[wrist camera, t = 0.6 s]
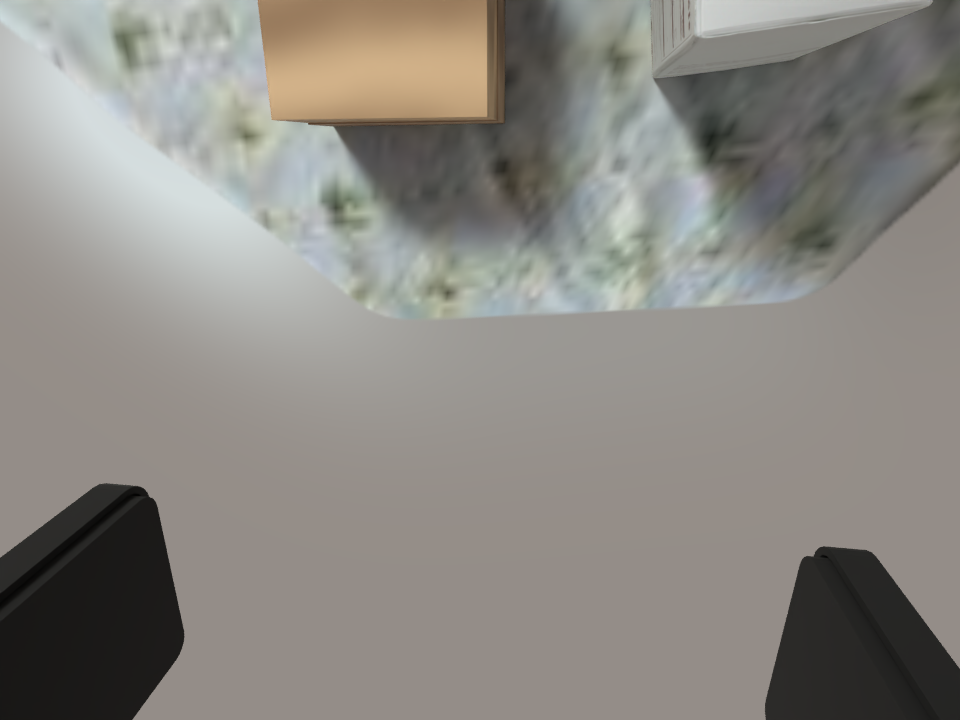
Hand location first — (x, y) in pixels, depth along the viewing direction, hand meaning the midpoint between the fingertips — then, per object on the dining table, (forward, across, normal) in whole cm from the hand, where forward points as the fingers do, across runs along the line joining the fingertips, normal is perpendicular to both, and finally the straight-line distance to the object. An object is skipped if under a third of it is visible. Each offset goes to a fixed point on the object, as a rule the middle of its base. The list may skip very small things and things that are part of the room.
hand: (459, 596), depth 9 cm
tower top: (+25, +7, -12) cm, 29 cm away
